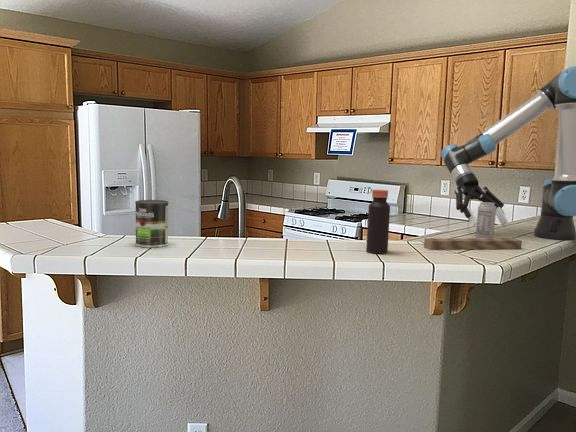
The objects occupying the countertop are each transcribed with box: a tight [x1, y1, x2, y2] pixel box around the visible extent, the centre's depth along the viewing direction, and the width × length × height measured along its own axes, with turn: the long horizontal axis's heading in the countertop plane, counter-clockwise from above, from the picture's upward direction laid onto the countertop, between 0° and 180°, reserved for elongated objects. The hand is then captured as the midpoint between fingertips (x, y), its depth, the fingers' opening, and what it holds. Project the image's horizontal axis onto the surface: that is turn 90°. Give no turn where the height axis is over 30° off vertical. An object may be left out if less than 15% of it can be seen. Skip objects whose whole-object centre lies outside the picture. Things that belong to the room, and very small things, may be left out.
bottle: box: [365, 189, 391, 255], centre depth 164 cm, size 7×7×20 cm
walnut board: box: [423, 237, 523, 251], centre depth 177 cm, size 34×5×3 cm, turn 101°
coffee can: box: [134, 199, 169, 249], centre depth 165 cm, size 10×10×14 cm
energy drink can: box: [475, 201, 496, 238], centre depth 186 cm, size 6×6×15 cm
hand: (490, 223), depth 184 cm, fingers open, 13 cm apart
